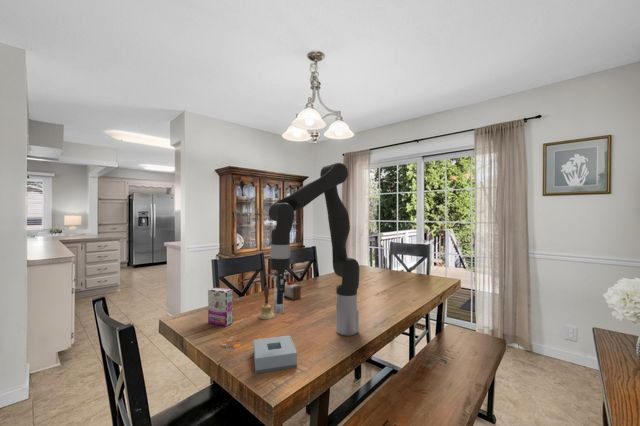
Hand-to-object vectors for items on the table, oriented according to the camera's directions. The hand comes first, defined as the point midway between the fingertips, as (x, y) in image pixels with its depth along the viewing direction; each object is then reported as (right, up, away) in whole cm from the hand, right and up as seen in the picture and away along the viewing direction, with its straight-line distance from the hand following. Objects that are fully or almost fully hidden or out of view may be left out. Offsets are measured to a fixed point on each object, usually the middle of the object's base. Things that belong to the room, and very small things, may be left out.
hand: (279, 302), depth 104 cm
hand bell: (-12, -20, +39) cm, 45 cm away
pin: (0, -4, 0) cm, 4 cm away
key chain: (-21, -20, +9) cm, 31 cm away
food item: (-3, -20, +71) cm, 74 cm away
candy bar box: (-33, -20, +30) cm, 48 cm away
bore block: (-1, -20, -3) cm, 20 cm away
